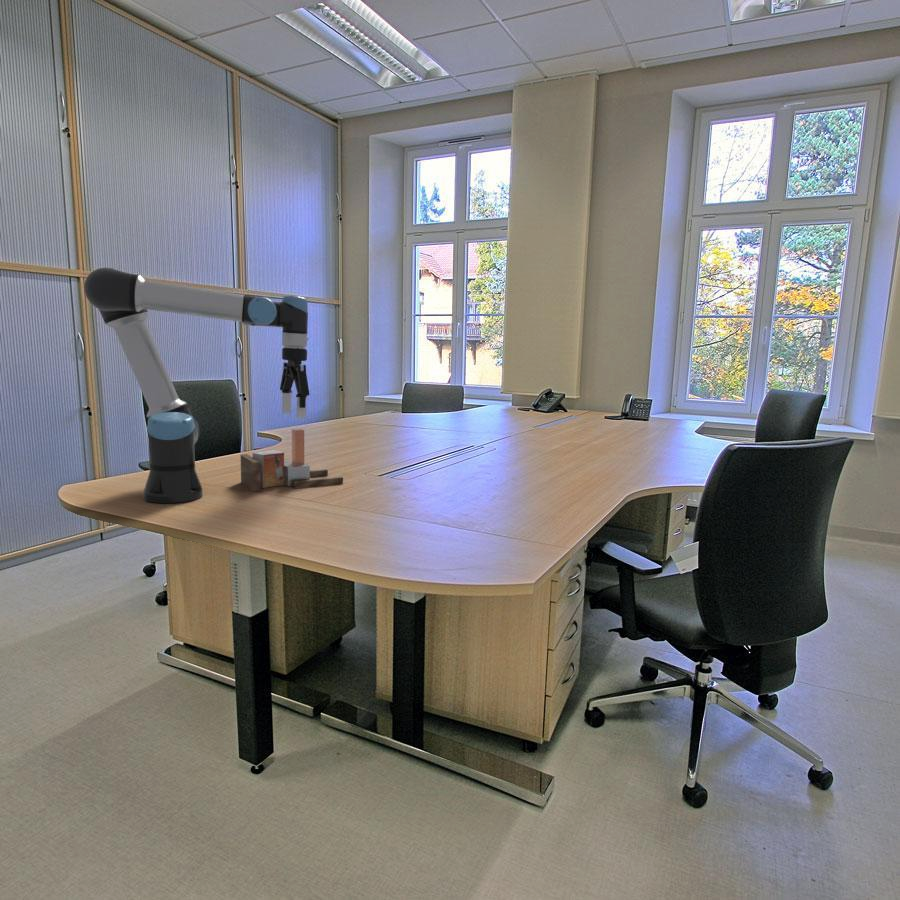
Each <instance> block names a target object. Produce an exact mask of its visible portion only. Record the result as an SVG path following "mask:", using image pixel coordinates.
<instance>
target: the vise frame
mask: <svg viewBox="0 0 900 900" xmlns="http://www.w3.org/2000/svg"><path fill="white" fill-rule="evenodd" d="M328 471H329V470H328V469H327V468H324V469H323V468H322V469H313V470H311V469H310V479H309V480H298V481H293V486H292V487H293V488H294V489H299V488H302V489H303V488H309V487H311V488H312V487H320V486H321V487H322V486H332V485H342V484H344V477H343V476H335V477H334V476H333V477H332V476H331V477H328V476H329V474H328ZM316 477H317V478H316ZM318 477H319V478H318ZM320 477H322V478H320ZM323 477H324V478H323ZM240 483H241V484H242V485H244V486H246V487H247V488H248V489H249V490H251V491H252V492H253V493H259V492H262V491H261V489H262V488H261V474H260V462H259V461H258V460H256V459H254V458H253V456H251V455H250V454H247V453H245V454H243V453H242V454H240Z"/></svg>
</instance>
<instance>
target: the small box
mask: <svg viewBox="0 0 900 900" xmlns="http://www.w3.org/2000/svg"><path fill="white" fill-rule="evenodd" d="M252 457H253V458H254V459H256V460H258V461H259V462H260V474H261V489H265V488H270V487H278V486H283V485H285V484H284V461H285V452H284V451H278V450H274V449H273V450H266V451H259V452H253V453H252Z"/></svg>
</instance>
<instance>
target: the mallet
mask: <svg viewBox="0 0 900 900" xmlns="http://www.w3.org/2000/svg"><path fill="white" fill-rule="evenodd" d="M310 468H311V465H309V464H307V463H305V429H302V428H293V429H292V428H291V460H288V461H285V460H284V485H285V486H287V487H293V481H298V480H309V479H311V477H310V470H311V469H310Z"/></svg>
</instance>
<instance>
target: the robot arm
mask: <svg viewBox="0 0 900 900" xmlns="http://www.w3.org/2000/svg"><path fill="white" fill-rule="evenodd" d="M83 291H84V295H85V297H86V299H87V301H89V303H90V304H91V305H93V307H95V308H97V309H98V311H99V313H100V315H101V318H102V320H103V322H104V324H105V326H107V327H109V328H111V329H113V330H114V333H115V335H116V338H118V341H119V343H120V346H121V348H122V351H123V353H124V355H125V357H126V359H127V362H128V365H129V366H130V368H131V370H132V372H133V375H134V377H135V380H136V382H137V383H138V384H137V385H138V386H139V389H140V391H141V394H142V395H143V397H144V401H145V402H146V405H147V406H148V411H147V413H146V418H147V426H146V430H147V437H148V439H147V440H148V461H149V462H148V463H149V473H148V477H147V480H146V482H145V486H144V490H143V499H144V501H146V502H148V501H149V503H153V502H155V503H154V504H178V503H180V504H181V503H186V502H192V501H195V500H198V499H201V498H202V497H203V486H202V484H201V481H200V479H199V476H198V472H197V471H196V455H195V445H196V443H197V442H198V440H199V438H200V426H199V423H198V421H197V420H196V418H195V417H194V416H193V415H192V411H191V409H190V408H189V405H188V403H187V401H184V400H181V399H180V398H179V395H178V394H177V391H176V388H175V386H174V384H173V382H172V380H171V379H172V378H171V377H170V374H169V372H168V370H167V367H166V365H165V363H164V360H163V358H162V356H161V354H160V351H159V349H158V347H157V344H156V341H155V339H154V337H153V335H152V332H151V330H150V328H149V326H148V322H147V318H148V316H149V311H158V312H165V313H171V314H178V315H179V314H181V315H187V316H193V317H202V318H210V319H217V320H224V321H230V322H239V323H242V325H245V326H252V327H255V326H256V327H259V326H260V327H274V328H275V327H276V328H282V332H281V334H282V335H281V346H283V348H282V349H281V359H282V360H283V361H284V362H283V365H282V366H283V369H282V374H281V381H280V385H279V390H280V391H281V393H282V398H281V399H282V400H281V403H282V406H281V414H291V413H292V393H293V391H292V387H293V384H294V385H295V390H296V395H295V398H296V419H307V397H308V396H310V390H309V389H310V388H309V383H308V376H307V364H306V363H305V364H303V363H302V362H306V361H307V360H308V350H307V349H306V348H307V347H308V341H309V337H308V322H309V311H308V310H309V309H308V308H309V307H308V300H307V298H305V297H302V296H297V295H284V296H283V297H282V301H273V300H271V299H269V297H265V296H261V295H260V296H252V295H246V294H245V295H244V294H241V293H240V294H239V293H233V292H227V291H220V290H214V289H207V288H199V287H194V286H187V285H180V284H174V283H168V282H160V281H154V280H149V279H145V278H143V276H142V275H140V274H134V273H129V272H125V271H121V270H119V269H115V268H112V267H99V268H97V269H94V270H93V271H91V272H90V273H89V274H87V276H86V279H85V280H84V284H83ZM286 361H287V362H286Z"/></svg>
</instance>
